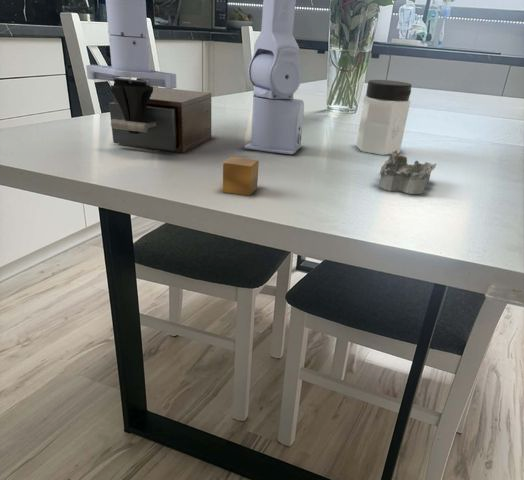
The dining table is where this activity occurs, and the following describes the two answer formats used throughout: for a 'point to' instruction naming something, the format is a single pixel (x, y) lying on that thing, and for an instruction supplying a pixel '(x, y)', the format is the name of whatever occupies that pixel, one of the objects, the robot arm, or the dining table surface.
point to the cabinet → (185, 115)
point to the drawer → (147, 127)
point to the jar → (383, 116)
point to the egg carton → (404, 175)
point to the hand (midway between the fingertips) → (135, 132)
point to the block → (240, 175)
